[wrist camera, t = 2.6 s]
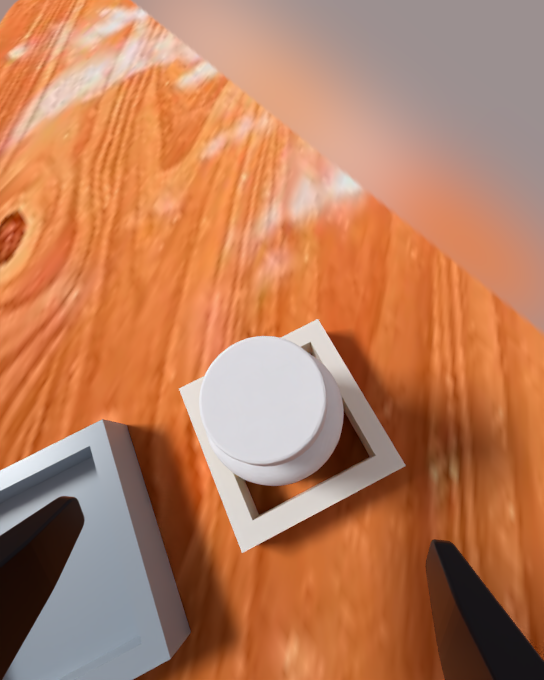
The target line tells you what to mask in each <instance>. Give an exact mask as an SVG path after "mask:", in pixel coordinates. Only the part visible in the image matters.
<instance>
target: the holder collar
mask: <svg viewBox="0 0 544 680" xmlns="http://www.w3.org/2000/svg"><path fill="white" fill-rule="evenodd" d="M281 338H283V339H286V340H288V341H291V342H293V343H295V344H296V345H298V346H300V347H301V348H303V349H304V350H305V351H306V352H308V353H309V354H310V353H312V355H313V356H314V357H315V358H317V359H318V360H319V361H320V362H321V363H322V364H324V365H325V367H326V368H327V369H328V370H329V371H330V373H331V374H332V376H333V377H334V379H335V381H336V383H337V385H338V387H339V390H340V393H341V397H342V401H343V410H344V412H345V414H346V415H347V417H348V419H349V421H350V422H351V424H352V426H353V428H354V430H355V431H356V433H357V435H358V437H359V438H360V440H361V442H362V444H363V445H364V447H365V449H366V451H367V453H368V454H369V456H370V457H368V458H367V459H365V460H363V461H361V462H359V463H357V464H355V465H353V466H351V467H349V468H348V469H346V470H344V471H342V472H340V473H338V474H336V475H334V476H332V477H331V478H329V479H327V480H325V481H323V482H321V483H319V484H317V485H315V486H313V487H312V488H310V489H308V490H306V491H304V492H302V493H300V494H298V495H296V496H295V497H293V498H291V499H289V500H287V501H285V502H283V503H281V504H279V505H277V506H276V507H274V508H272V509H270V510H268V511H266V512H264V513H262V514H260V515H259V513H258V511H257V509H256V506H255V504H254V501H253V499H252V497H251V494H250V492H249V489H248V487H247V485H246V482H245V480H244V479H242V478H241V477H239V476H237V475H235V474H234V473H233V472H232V471H230V470H229V469H228V468H227V467H226V466H225V465H224V464H223V463H222V462H221V461H220V460H219V459H218V457H217V456H216V454H215V453H214V451H213V449H212V448H211V445H210V443H209V441H208V438H207V435H206V431H205V428H204V426H203V423H202V420H201V415H200V408H199V396H200V389H201V385H202V382H203V379H204V377H205V376H203V377H201V378H199V379H197V380H195V381H193V382H191V383H189V384H187V385H185V386H183V387H181V388H179V390H180V393H181V395H182V398H183V401H184V403H185V406H186V408H187V411H188V414H189V416H190V419H191V421H192V424H193V427H194V429H195V432H196V434H197V437H198V440H199V442H200V445H201V447H202V450H203V453H204V455H205V458H206V460H207V463H208V466H209V468H210V471H211V473H212V476H213V479H214V481H215V484H216V486H217V489H218V492H219V494H220V497H221V499H222V502H223V505H224V507H225V510H226V512H227V515H228V518H229V520H230V523H231V525H232V528H233V531H234V533H235V536H236V538H237V541H238V544H239V546H240V549H241V551H242V553H243V552H245V551H247V550H249V549H251V548H252V547H254V546H256V545H258V544H260V543H262V542H264V541H266V540H267V539H269V538H271V537H273V536H275V535H277V534H279V533H281V532H282V531H284V530H286V529H288V528H290V527H292V526H294V525H296V524H297V523H299V522H301V521H303V520H305V519H307V518H309V517H311V516H313V515H314V514H316V513H318V512H320V511H322V510H324V509H326V508H328V507H329V506H331V505H333V504H335V503H337V502H339V501H341V500H343V499H344V498H346V497H348V496H350V495H352V494H354V493H356V492H358V491H359V490H361V489H363V488H365V487H367V486H369V485H371V484H373V483H375V482H376V481H378V480H380V479H382V478H384V477H386V476H388V475H390V474H391V473H393V472H395V471H397V470H399V469H401V468H403V467H405V466H406V465H405V463H404V462H403V460H402V458H401V457H400V455H399V453H398V452H397V450H396V448H395V447H394V445H393V443H392V442H391V440H390V438H389V437H388V435H387V433H386V432H385V430H384V428H383V427H382V425H381V423H380V422H379V420H378V418H377V417H376V415H375V413H374V412H373V410H372V408H371V407H370V405H369V403H368V402H367V400H366V398H365V397H364V395H363V393H362V392H361V390H360V388H359V387H358V385H357V383H356V382H355V380H354V378H353V377H352V375H351V373H350V372H349V370H348V368H347V367H346V365H345V363H344V362H343V360H342V358H341V357H340V355H339V353H338V352H337V350H336V348H335V347H334V345H333V343H332V342H331V340H330V338H329V337H328V335H327V333H326V332H325V330H324V328H323V327H322V325H321V323H320V321H319V320H318V319H317V320H315V321H313V322H311V323H309V324H307V325H305V326H303V327H301V328H299V329H297V330H295V331H293V332H291V333H289V334H287V335H285V336H283V337H281Z"/></svg>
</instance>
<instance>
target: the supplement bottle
mask: <svg viewBox="0 0 544 680" xmlns="http://www.w3.org/2000/svg"><path fill="white" fill-rule="evenodd" d="M199 408H200V415H201V420H202V423H203V426H204V428H205V431H206V435H207V438H208V441H209V443H210V445H211V448H212V449H213V451H214V453H215V454H216V456H217V457H218V459H219V460H220V461H221V462H222V463H223V464H224V465H225V466H226V467H227V468H228V469H229V470H230V471H232V472H233V473H234V474H235V475H237V476H239V477H241V478H242V479H245V480H247V481H249V482H252V483H256V484H260V485H267V486H282V485H288V484H292V483H295V482H298V481H300V480H302V479H304V478H306V477H308V476H310V475H311V474H313V473H314V472H316V471H317V470H318V469H319V468H321V467H322V466H323V465H324V464H325V462H326V461H327V460H328V459H329V457H330V456H331V455H332V453H333V451H334V449H335V448H336V446H337V444H338V441H339V439H340V435H341V431H342V426H343V415H344V410H343V401H342V397H341V393H340V390H339V387H338V385H337V383H336V381H335V379H334V377H333V376H332V374H331V373H330V371H329V370H328V369H327V368H326V367H325V365H324V364H322V363H321V362H320V361H319V360H318V359H317V358H315V357H314V356H312V355H311V354H309V353H308V352H306V351H305V350H304V349H303V348H301V347H300V346H298V345H296V344H295V343H293V342H291V341H288V340H286V339H283V338H279V337H273V336H257V337H252V338H247V339H244V340H242V341H239V342H237V343H235V344H233V345H231V346H230V347H228V348H227V349H226V350H224V351H223V352H222V353H221V354H220V355H219V356H218V357H217V358H216V359H215V360H214V361H213V363H212V364H211V365H210V367H209V369H208V370H207V372H206V374H205V377H204V379H203V382H202V385H201V389H200V396H199Z"/></svg>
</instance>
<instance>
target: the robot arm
mask: <svg viewBox="0 0 544 680" xmlns="http://www.w3.org/2000/svg"><path fill="white" fill-rule="evenodd" d="M84 521H85V518H84V514H83V512H82V509H81V506H80V504H79V501H78V499H77V498H75V497H69V496H60V497H58V498H56V499H55V500H53V501H52V502H50V503H49V504H47V505H46V506H44V507H43V508H41V509H40V510H38V511H37V512H35V513H34V514H32V515H31V516H29V517H28V518H26V519H24V520H23V521H21V522H20V523H18V524H17V525H15V526H14V527H12V528H11V529H9V530H8V531H6V532H5V533H3V534H2V535H0V680H2V679H3V678H4V676H5V674H6V672H7V671H8V669H9V667H10V665H11V664H12V662H13V660H14V658H15V657H16V655H17V653H18V651H19V650H20V648H21V646H22V644H23V643H24V641H25V639H26V637H27V636H28V634H29V632H30V630H31V629H32V627H33V625H34V623H35V622H36V620H37V618H38V616H39V615H40V613H41V611H42V609H43V608H44V606H45V604H46V602H47V601H48V599H49V597H50V595H51V593H52V592H53V590H54V588H55V586H56V584H57V582H58V580H59V578H60V576H61V573H62V571H63V569H64V567H65V565H66V563H67V561H68V558H69V556H70V554H71V552H72V550H73V548H74V546H75V543H76V541H77V539H78V537H79V535H80V533H81V531H82V529H83V526H84ZM426 575H427V581H428V588H429V594H430V601H431V607H432V614H433V621H434V627H435V634H436V640H437V646H438V652H439V656H440V661H441V665H442V669H443V673H444V677H445V680H544V661H543V659H542V658H541V657H540V655H539V654H538V653H537V652H536V650H535V649H534V648H533V646H532V645H531V644H530V643H529V641H528V640H527V639H526V637H525V636H524V635H523V633H522V632H521V631H520V630H519V628H518V627H517V626H516V624H515V623H514V622H513V620H512V619H511V618H510V617H509V615H508V614H507V613H506V611H505V610H504V609H503V608H502V606H501V605H500V604H499V602H498V601H497V600H496V598H495V597H494V596H493V595H492V593H491V592H490V591H489V589H488V588H487V587H486V585H485V584H484V583H483V582H482V580H481V579H480V578H479V576H478V575H477V574H476V573H475V571H474V570H473V569H472V567H471V566H470V565H469V563H468V562H467V561H466V560H465V558H464V557H463V556H462V554H461V553H460V552H459V550H458V549H457V548H456V547H455V545H454V544H453V543H451V542H450V541H444V540H436V539H435V540H432V542H431V544H430V548H429V552H428V555H427V559H426Z"/></svg>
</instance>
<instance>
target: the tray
mask: <svg viewBox="0 0 544 680" xmlns="http://www.w3.org/2000/svg"><path fill="white" fill-rule="evenodd" d="M60 496H69V497H75V498H77V499H78V501H79V504H80V506H81V509H82V512H83V514H84V518H85V521H84V526H83V529H82V531H81V533H80V535H79V537H78V539H77V541H76V543H75V546H74V548H73V550H72V552H71V554H70V556H69V558H68V561H67V563H66V565H65V567H64V569H63V571H62V573H61V576H60V578H59V580H58V582H57V584H56V586H55V588H54V590H53V592H52V593H51V595H50V597H49V599H48V601H47V602H46V604H45V606H44V608H43V609H42V611H41V613H40V615H39V616H38V618H37V620H36V622H35V623H34V625H33V627H32V629H31V630H30V632H29V634H28V636H27V637H26V639H25V641H24V643H23V644H22V646H21V648H20V650H19V651H18V653H17V655H16V657H15V658H14V660H13V662H12V664H11V665H10V667H9V669H8V671H7V672H6V674H5V676H4V678H3V679H2V680H133V679H135V678H137V677H138V676H140V675H142V674H144V673H146V672H148V671H149V670H151V669H153V668H155V667H157V666H159V665H161V664H162V663H164V662H166V661H168V660H170V659H171V658H172V657H173V655H174V654H175V653H176V651H177V650H178V649H179V647H180V646H181V645H182V644H183V642H184V641H185V640H186V638H187V637H188V636H189V634H190V633H191V631H190V628H189V624H188V621H187V618H186V615H185V611H184V608H183V605H182V602H181V599H180V595H179V592H178V589H177V586H176V582H175V579H174V576H173V573H172V570H171V566H170V563H169V560H168V557H167V553H166V550H165V547H164V544H163V540H162V537H161V534H160V531H159V528H158V524H157V521H156V518H155V515H154V511H153V508H152V505H151V502H150V498H149V495H148V492H147V489H146V486H145V482H144V479H143V476H142V473H141V469H140V466H139V463H138V460H137V456H136V453H135V450H134V447H133V444H132V440H131V437H130V434H129V431H128V427H127V425H125V424H121V423H116V422H112V421H107V420H103V419H102V420H100V421H98V422H96V423H94V424H92V425H90V426H88V427H86V428H84V429H82V430H80V431H78V432H76V433H74V434H72V435H70V436H68V437H66V438H64V439H63V440H61V441H59V442H57V443H55V444H53V445H51V446H49V447H47V448H45V449H43V450H41V451H39V452H37V453H35V454H33V455H31V456H29V457H27V458H25V459H23V460H21V461H19V462H17V463H15V464H13V465H11V466H9V467H7V468H5V469H3V470H1V471H0V535H2V534H3V533H5V532H6V531H8V530H9V529H11V528H12V527H14V526H15V525H17V524H18V523H20V522H21V521H23V520H24V519H26V518H28V517H29V516H31V515H32V514H34V513H35V512H37V511H38V510H40V509H41V508H43V507H44V506H46V505H47V504H49V503H50V502H52V501H53V500H55V499H56V498H58V497H60Z"/></svg>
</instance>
